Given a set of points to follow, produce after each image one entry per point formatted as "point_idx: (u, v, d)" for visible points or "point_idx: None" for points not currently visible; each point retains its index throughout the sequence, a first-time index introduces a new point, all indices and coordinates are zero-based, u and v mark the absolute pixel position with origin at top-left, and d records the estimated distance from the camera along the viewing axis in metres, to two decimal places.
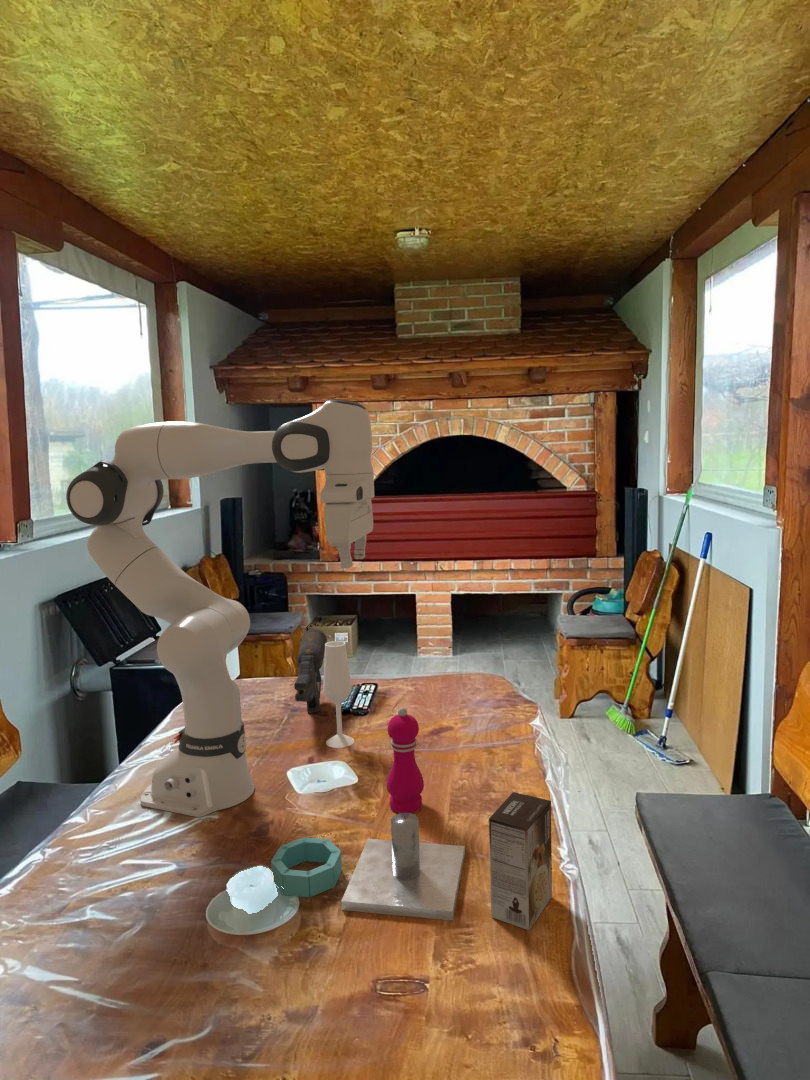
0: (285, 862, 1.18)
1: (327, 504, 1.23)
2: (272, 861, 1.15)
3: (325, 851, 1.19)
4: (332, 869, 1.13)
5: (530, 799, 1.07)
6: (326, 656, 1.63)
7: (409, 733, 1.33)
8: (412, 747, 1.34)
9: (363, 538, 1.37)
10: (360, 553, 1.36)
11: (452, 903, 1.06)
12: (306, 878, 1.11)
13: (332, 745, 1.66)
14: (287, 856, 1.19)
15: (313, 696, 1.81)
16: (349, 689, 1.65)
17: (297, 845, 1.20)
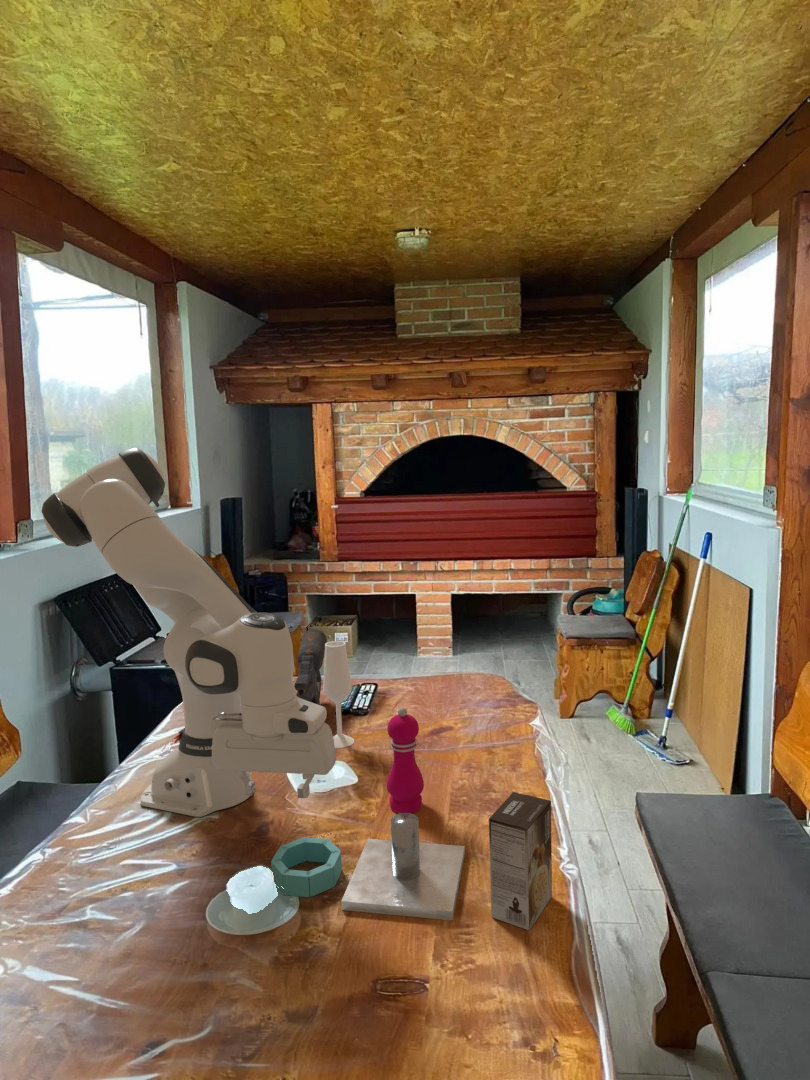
0: (285, 862, 1.18)
1: (315, 732, 1.10)
2: (272, 861, 1.15)
3: (325, 851, 1.19)
4: (332, 869, 1.13)
5: (530, 799, 1.07)
6: (326, 656, 1.63)
7: (409, 733, 1.33)
8: (412, 747, 1.34)
9: None
10: (252, 786, 1.17)
11: (452, 903, 1.06)
12: (306, 878, 1.11)
13: None
14: (287, 856, 1.19)
15: (313, 696, 1.81)
16: (349, 689, 1.65)
17: (297, 845, 1.20)
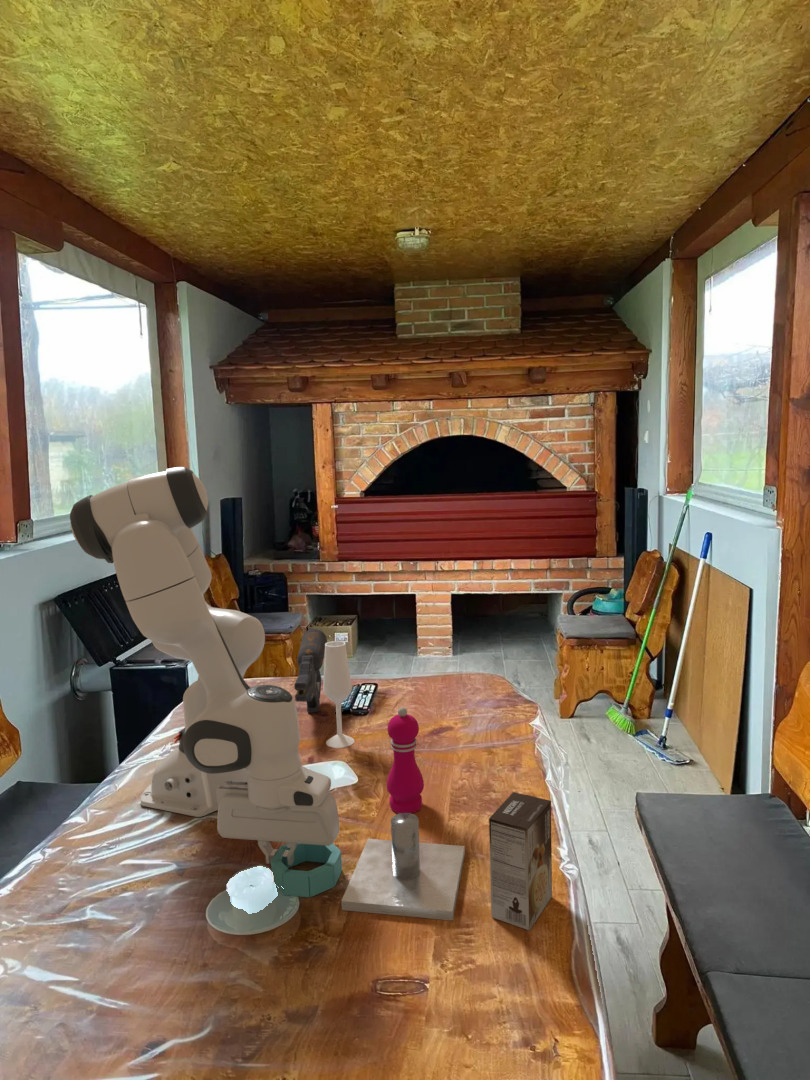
0: None
1: (320, 805, 1.12)
2: (272, 861, 1.15)
3: (325, 851, 1.19)
4: (332, 869, 1.13)
5: (530, 799, 1.07)
6: (326, 656, 1.63)
7: (409, 733, 1.33)
8: (412, 747, 1.34)
9: None
10: None
11: (452, 903, 1.06)
12: (306, 878, 1.11)
13: (332, 745, 1.66)
14: None
15: (313, 696, 1.81)
16: (349, 689, 1.65)
17: (297, 845, 1.20)
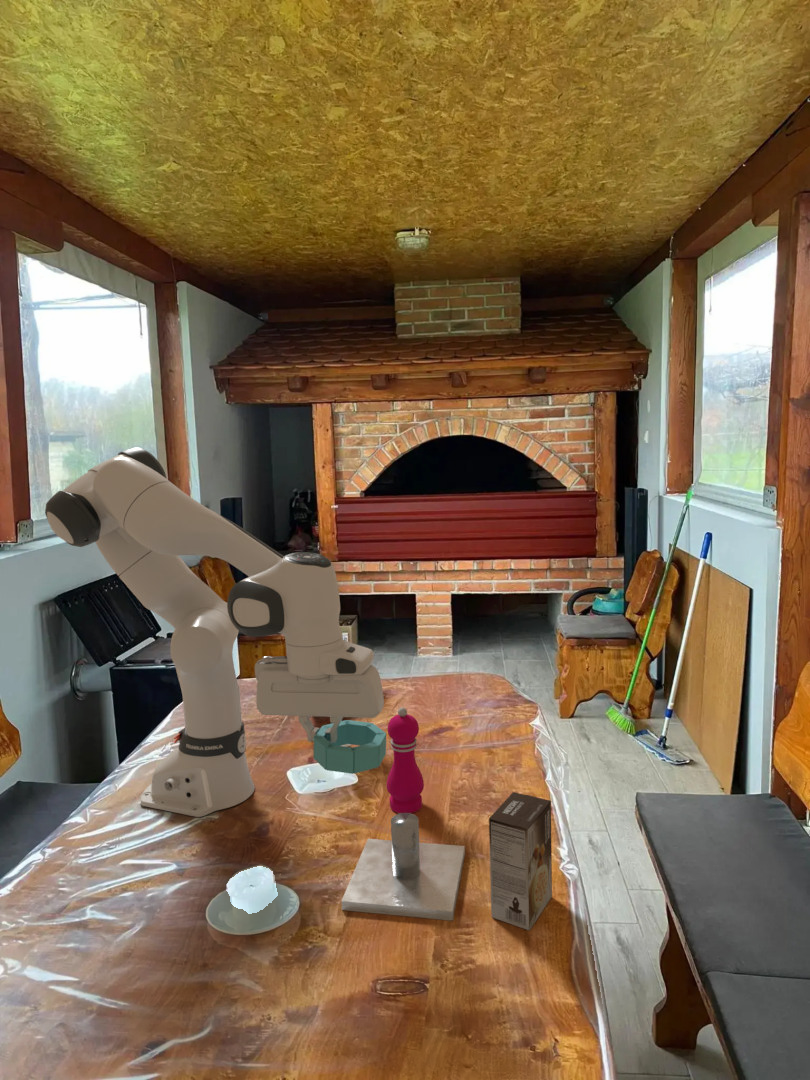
0: None
1: (363, 673, 1.07)
2: (315, 737, 1.10)
3: (369, 734, 1.14)
4: (378, 748, 1.08)
5: (530, 799, 1.07)
6: None
7: (409, 733, 1.33)
8: (412, 747, 1.34)
9: None
10: None
11: (452, 903, 1.06)
12: (351, 753, 1.06)
13: None
14: None
15: None
16: None
17: (340, 726, 1.15)
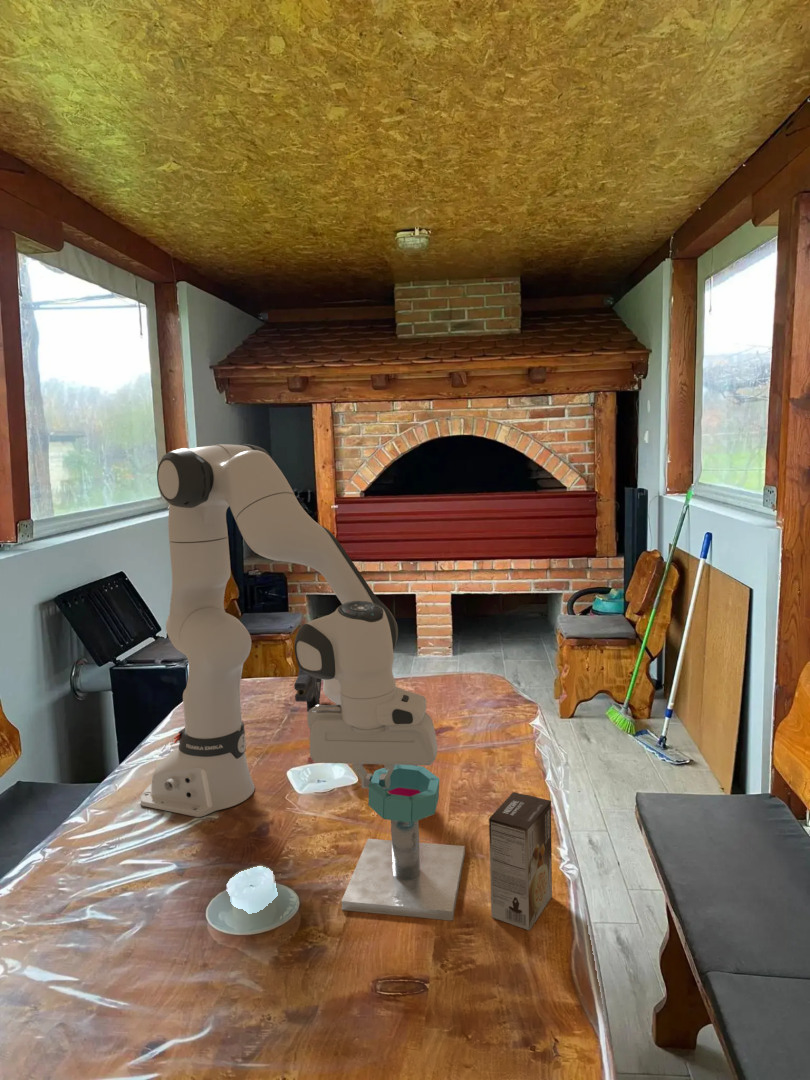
0: None
1: (419, 723, 1.08)
2: (370, 785, 1.11)
3: (421, 778, 1.15)
4: (434, 796, 1.09)
5: (530, 799, 1.07)
6: None
7: None
8: None
9: None
10: (370, 779, 1.14)
11: (452, 903, 1.06)
12: (409, 803, 1.07)
13: None
14: None
15: (313, 696, 1.81)
16: None
17: None
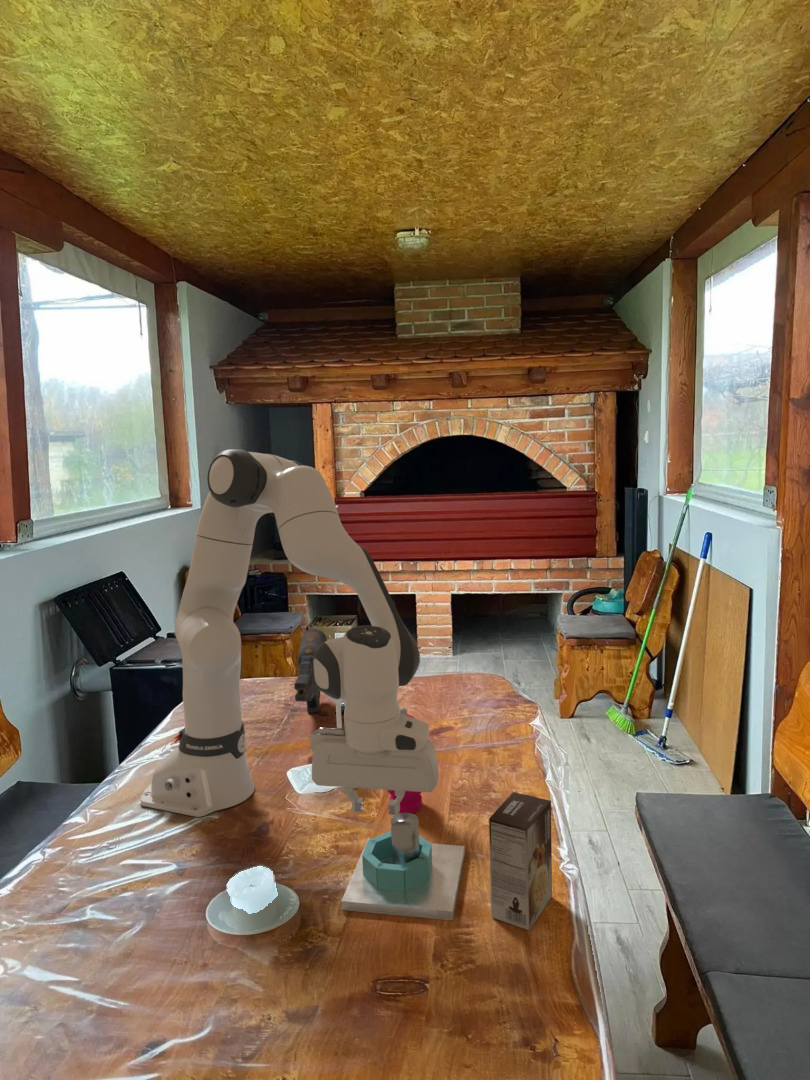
0: (374, 856, 1.16)
1: (422, 749, 1.09)
2: (363, 855, 1.14)
3: None
4: (426, 863, 1.11)
5: (530, 799, 1.07)
6: None
7: None
8: None
9: None
10: (361, 803, 1.15)
11: (452, 903, 1.06)
12: (401, 872, 1.09)
13: None
14: (376, 850, 1.17)
15: (313, 696, 1.81)
16: None
17: (385, 839, 1.18)
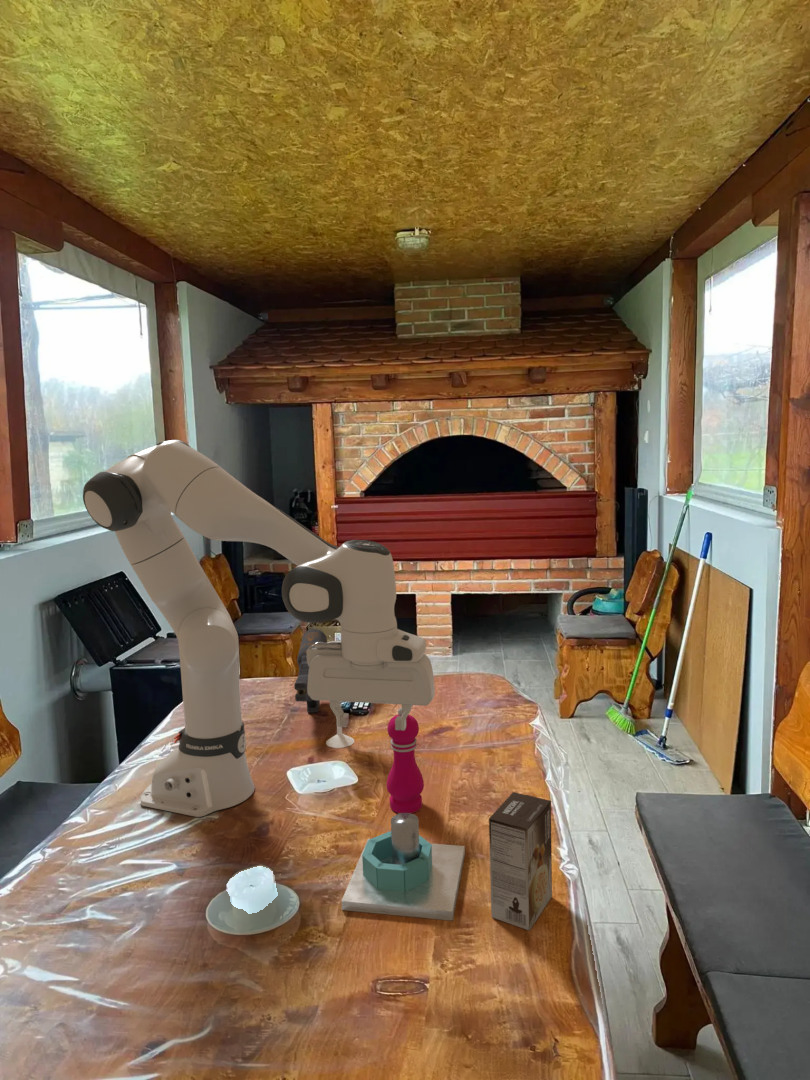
0: (374, 856, 1.16)
1: (418, 661, 1.08)
2: (363, 855, 1.14)
3: None
4: (426, 863, 1.11)
5: (530, 799, 1.07)
6: None
7: (409, 733, 1.33)
8: (412, 747, 1.34)
9: (341, 700, 1.15)
10: (347, 719, 1.14)
11: (452, 903, 1.06)
12: (401, 872, 1.09)
13: (332, 745, 1.66)
14: (376, 850, 1.17)
15: None
16: None
17: (385, 839, 1.18)
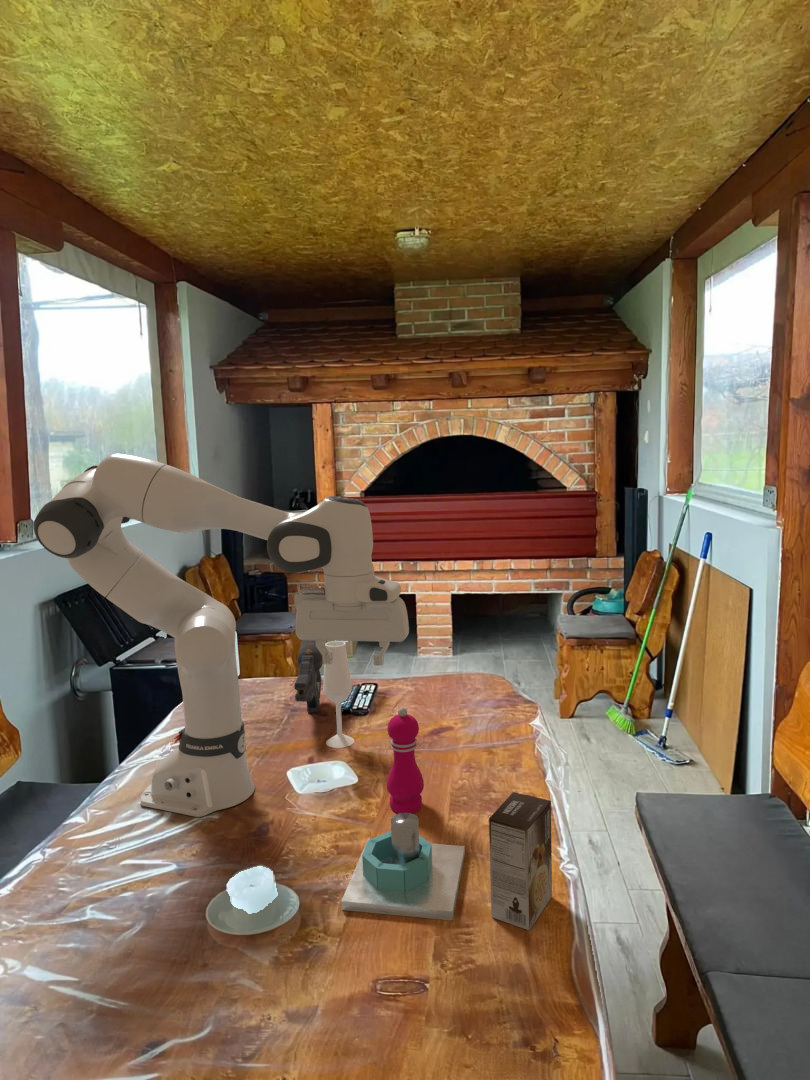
0: (374, 856, 1.16)
1: (393, 602, 1.22)
2: (363, 855, 1.14)
3: None
4: (426, 863, 1.11)
5: (530, 799, 1.07)
6: None
7: (409, 733, 1.33)
8: (412, 747, 1.34)
9: None
10: (331, 657, 1.28)
11: (452, 903, 1.06)
12: (401, 872, 1.09)
13: (332, 745, 1.66)
14: (376, 850, 1.17)
15: (313, 696, 1.81)
16: (349, 689, 1.65)
17: (385, 839, 1.18)
